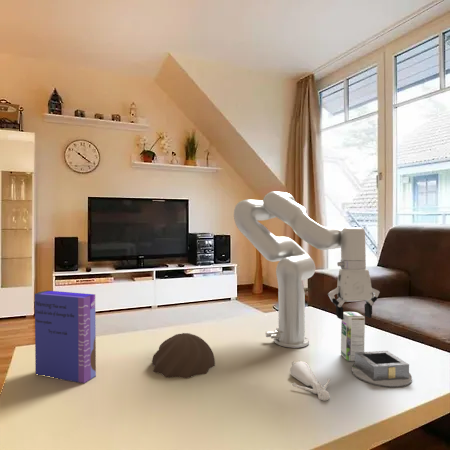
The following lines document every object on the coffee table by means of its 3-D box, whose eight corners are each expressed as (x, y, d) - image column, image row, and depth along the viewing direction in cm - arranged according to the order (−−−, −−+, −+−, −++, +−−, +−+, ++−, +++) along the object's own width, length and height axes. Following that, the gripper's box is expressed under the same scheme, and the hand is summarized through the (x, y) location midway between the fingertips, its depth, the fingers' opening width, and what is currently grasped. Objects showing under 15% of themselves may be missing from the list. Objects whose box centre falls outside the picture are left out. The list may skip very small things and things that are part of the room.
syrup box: (340, 354, 119) (340, 311, 119) (357, 354, 120) (357, 311, 120) (347, 361, 114) (347, 316, 113) (365, 361, 114) (365, 315, 114)
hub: (369, 389, 95) (370, 371, 95) (342, 365, 111) (342, 349, 111) (424, 385, 97) (424, 367, 97) (389, 362, 113) (389, 347, 113)
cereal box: (95, 376, 103) (95, 293, 103) (84, 383, 98) (83, 297, 98) (48, 368, 109) (47, 289, 108) (35, 374, 104) (34, 292, 104)
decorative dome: (225, 359, 116) (225, 328, 116) (193, 384, 98) (193, 348, 98) (175, 349, 125) (175, 321, 124) (138, 371, 107) (138, 338, 107)
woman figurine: (314, 355, 107) (348, 387, 90) (313, 370, 108) (347, 404, 90) (277, 359, 105) (305, 392, 87) (277, 374, 105) (305, 409, 87)
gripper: (333, 267, 111) (334, 322, 111) (384, 265, 114) (385, 319, 114) (323, 264, 119) (324, 316, 119) (371, 263, 121) (372, 313, 121)
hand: (354, 317), depth 116 cm, fingers open, 9 cm apart
